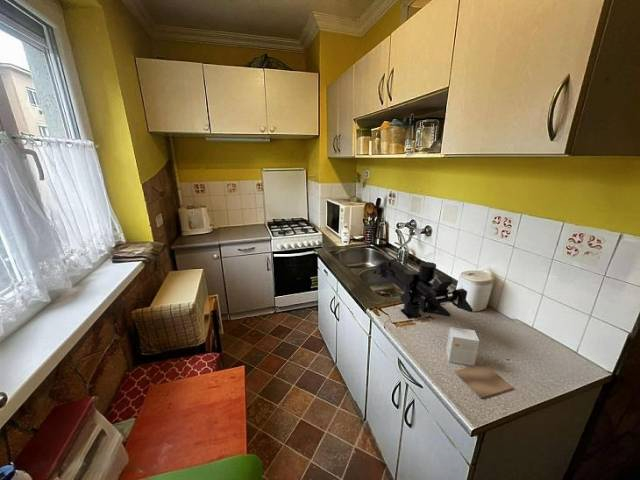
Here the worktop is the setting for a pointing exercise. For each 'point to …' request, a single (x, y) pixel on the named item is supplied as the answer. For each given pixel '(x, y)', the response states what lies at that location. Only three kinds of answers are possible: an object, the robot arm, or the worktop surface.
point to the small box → (462, 346)
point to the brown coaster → (483, 380)
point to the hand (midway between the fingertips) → (461, 313)
